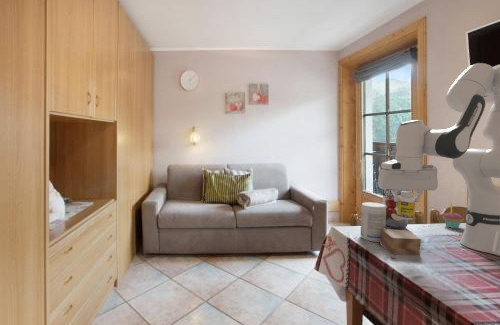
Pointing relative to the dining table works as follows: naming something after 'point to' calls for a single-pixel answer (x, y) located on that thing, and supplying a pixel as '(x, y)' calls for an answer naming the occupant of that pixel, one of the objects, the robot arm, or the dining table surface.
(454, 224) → the cupcake
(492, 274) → the dining table surface
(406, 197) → the supplement bottle
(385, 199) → the juice carton
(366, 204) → the supplement tub
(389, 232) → the walnut block
